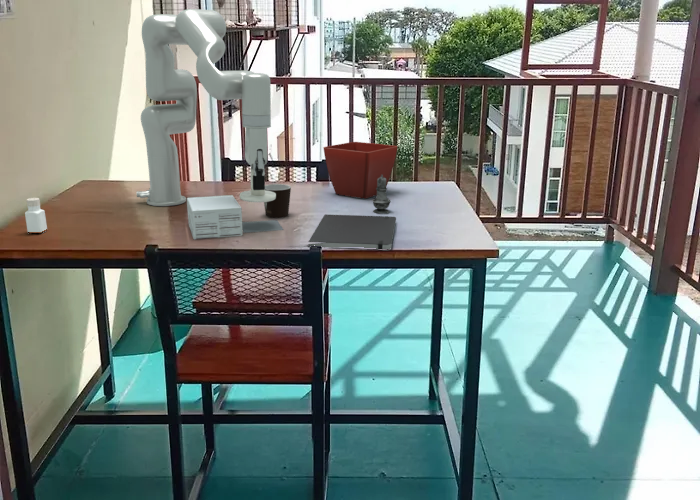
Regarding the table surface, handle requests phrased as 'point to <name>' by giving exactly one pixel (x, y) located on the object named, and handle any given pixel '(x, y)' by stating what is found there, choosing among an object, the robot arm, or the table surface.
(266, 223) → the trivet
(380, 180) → the grey stone figurine
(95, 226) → the table surface
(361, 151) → the plant pot
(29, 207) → the salt shaker
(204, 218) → the supplement box
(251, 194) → the lid
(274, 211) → the coffee mug
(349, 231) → the notebook
